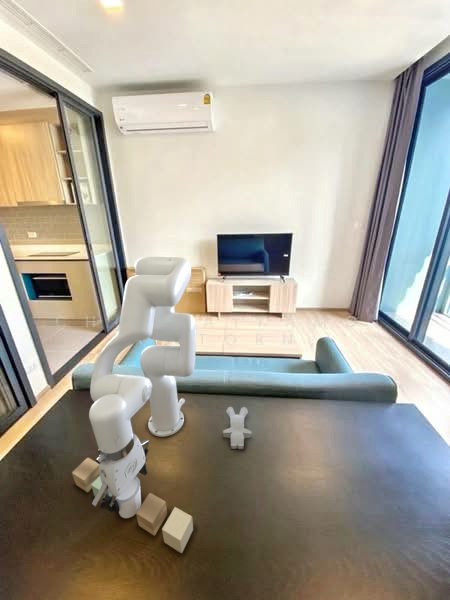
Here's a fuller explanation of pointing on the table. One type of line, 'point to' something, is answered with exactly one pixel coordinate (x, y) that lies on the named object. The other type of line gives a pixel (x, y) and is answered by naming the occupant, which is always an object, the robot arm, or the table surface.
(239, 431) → the bunny figurine
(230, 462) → the table surface
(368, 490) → the table surface
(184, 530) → the block
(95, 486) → the block
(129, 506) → the white cylinder
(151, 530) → the block
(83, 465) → the block
